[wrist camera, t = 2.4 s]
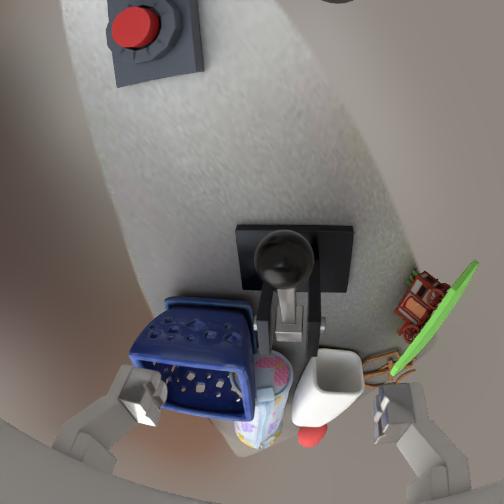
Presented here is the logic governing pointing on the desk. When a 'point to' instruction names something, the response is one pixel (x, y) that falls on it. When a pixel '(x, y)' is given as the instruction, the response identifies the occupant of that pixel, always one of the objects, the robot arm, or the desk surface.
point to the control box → (158, 42)
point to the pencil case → (265, 399)
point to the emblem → (381, 371)
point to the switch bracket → (320, 280)
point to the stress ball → (311, 435)
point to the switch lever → (285, 277)
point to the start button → (135, 27)
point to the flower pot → (202, 355)
